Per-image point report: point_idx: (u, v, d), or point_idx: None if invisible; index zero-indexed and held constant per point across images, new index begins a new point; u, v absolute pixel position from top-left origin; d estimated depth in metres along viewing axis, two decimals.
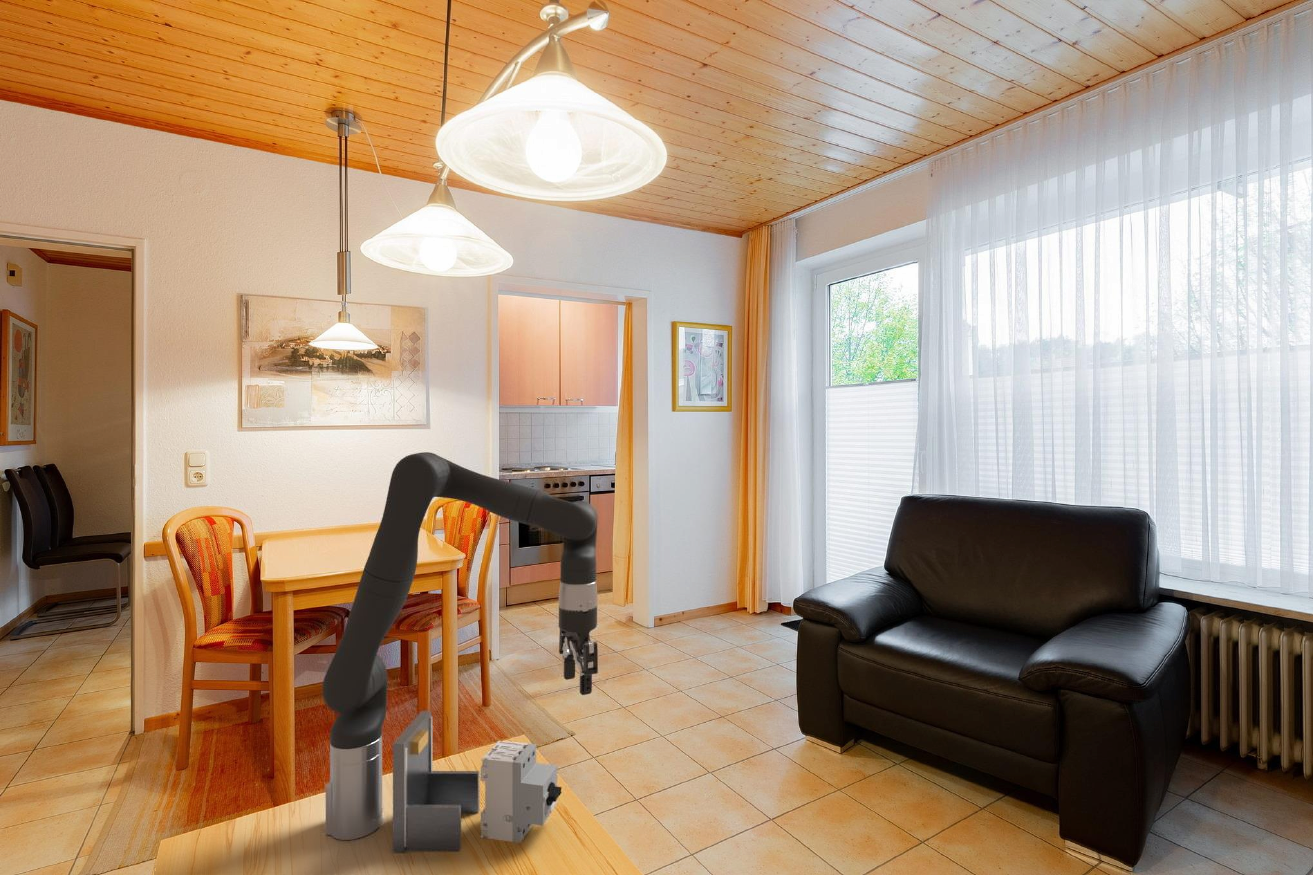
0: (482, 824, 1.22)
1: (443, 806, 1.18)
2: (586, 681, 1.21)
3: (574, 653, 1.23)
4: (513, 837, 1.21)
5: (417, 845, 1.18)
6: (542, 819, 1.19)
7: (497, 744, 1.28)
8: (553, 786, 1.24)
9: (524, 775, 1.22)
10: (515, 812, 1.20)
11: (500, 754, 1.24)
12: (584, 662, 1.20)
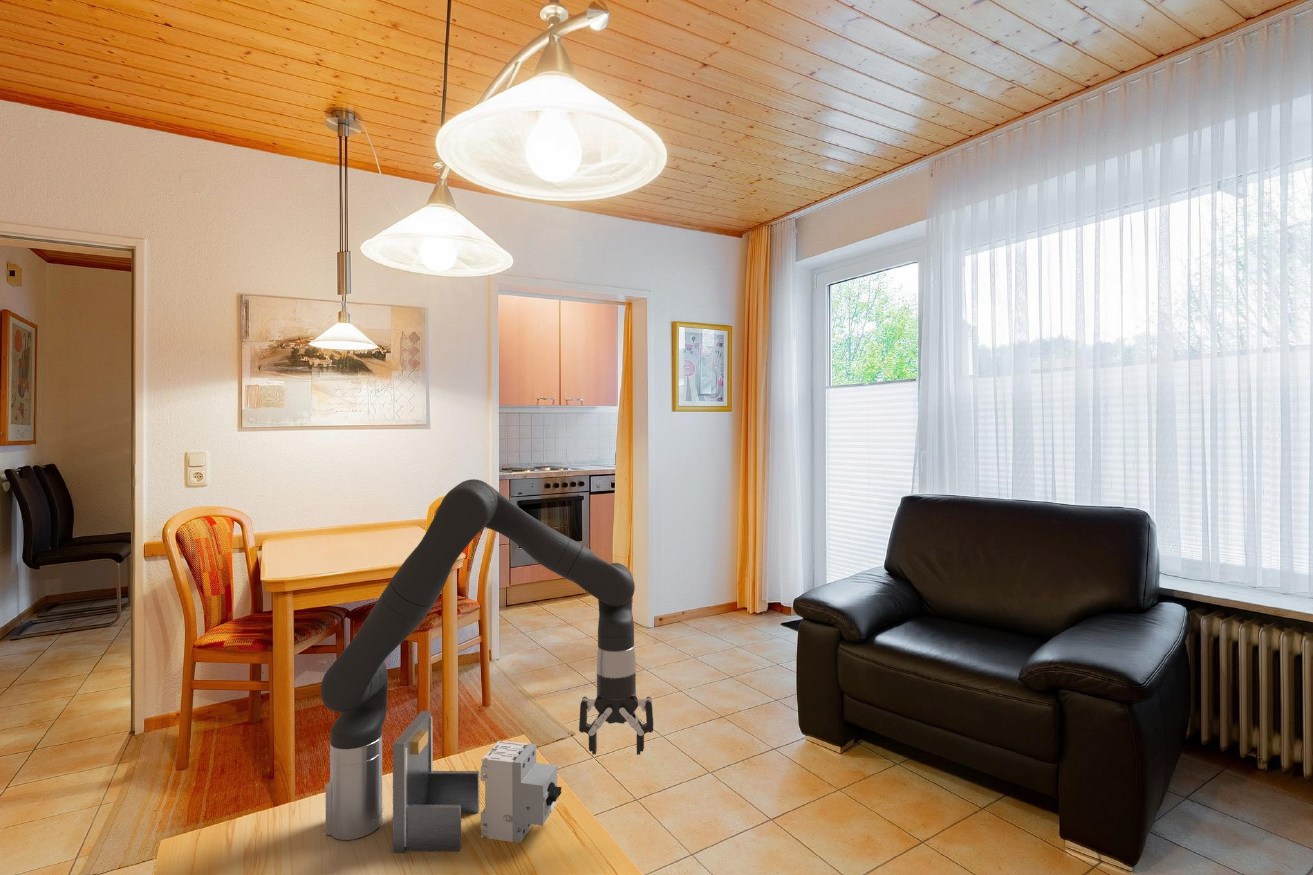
0: (482, 824, 1.22)
1: (443, 806, 1.18)
2: None
3: (629, 717, 1.22)
4: (513, 837, 1.21)
5: (417, 845, 1.18)
6: (542, 819, 1.19)
7: (497, 744, 1.28)
8: (553, 786, 1.24)
9: (524, 775, 1.22)
10: (515, 812, 1.20)
11: (500, 754, 1.24)
12: (649, 719, 1.23)
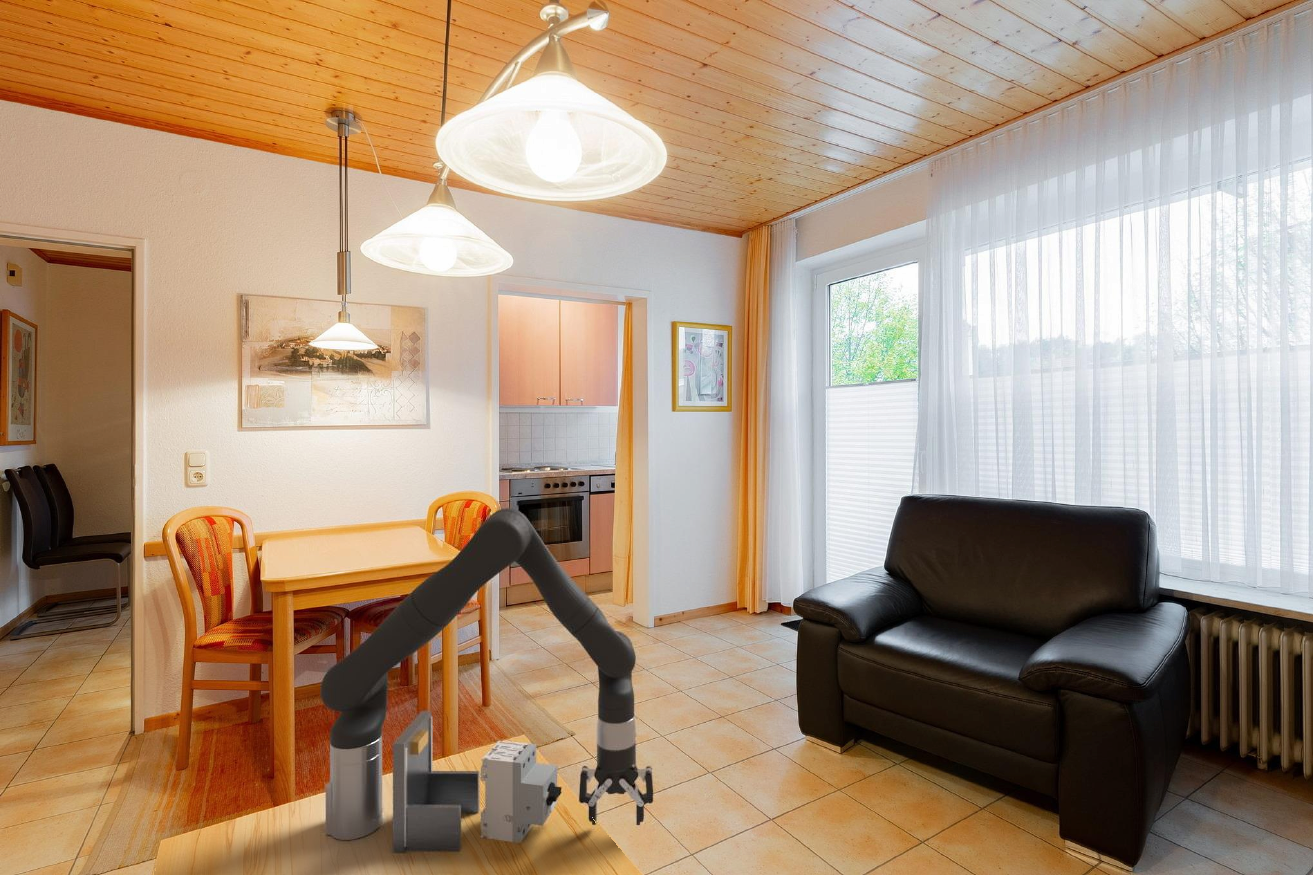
0: (482, 824, 1.22)
1: (443, 806, 1.18)
2: None
3: (629, 789, 1.22)
4: (513, 837, 1.21)
5: (417, 845, 1.18)
6: (542, 819, 1.19)
7: (497, 744, 1.28)
8: (553, 786, 1.24)
9: (524, 775, 1.22)
10: (515, 812, 1.20)
11: (500, 754, 1.24)
12: (649, 790, 1.23)
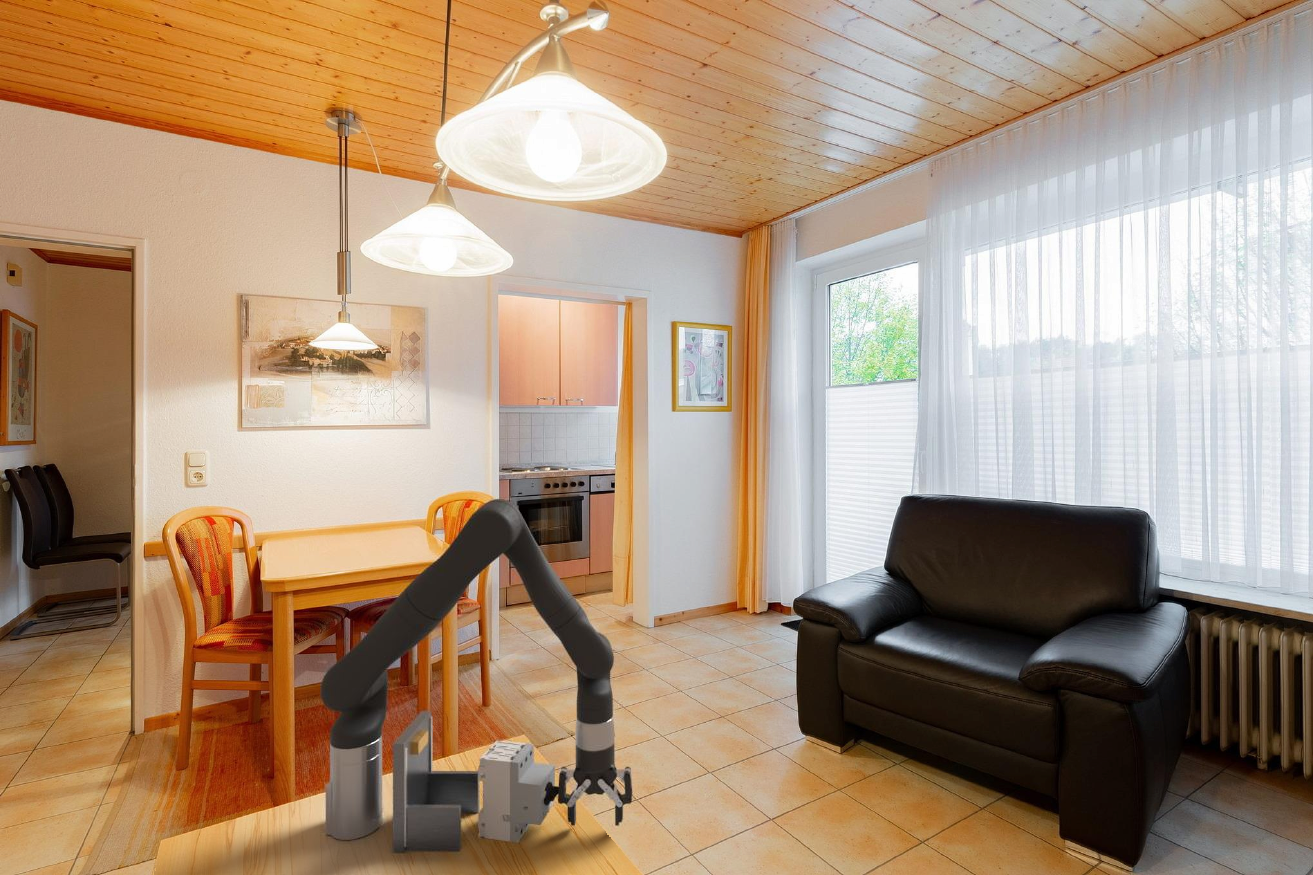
0: (480, 824, 1.22)
1: (443, 806, 1.18)
2: None
3: (607, 789, 1.22)
4: (511, 836, 1.21)
5: (417, 845, 1.18)
6: (540, 819, 1.20)
7: (495, 744, 1.28)
8: (551, 786, 1.24)
9: (522, 775, 1.22)
10: (513, 812, 1.21)
11: (498, 754, 1.24)
12: (628, 790, 1.23)
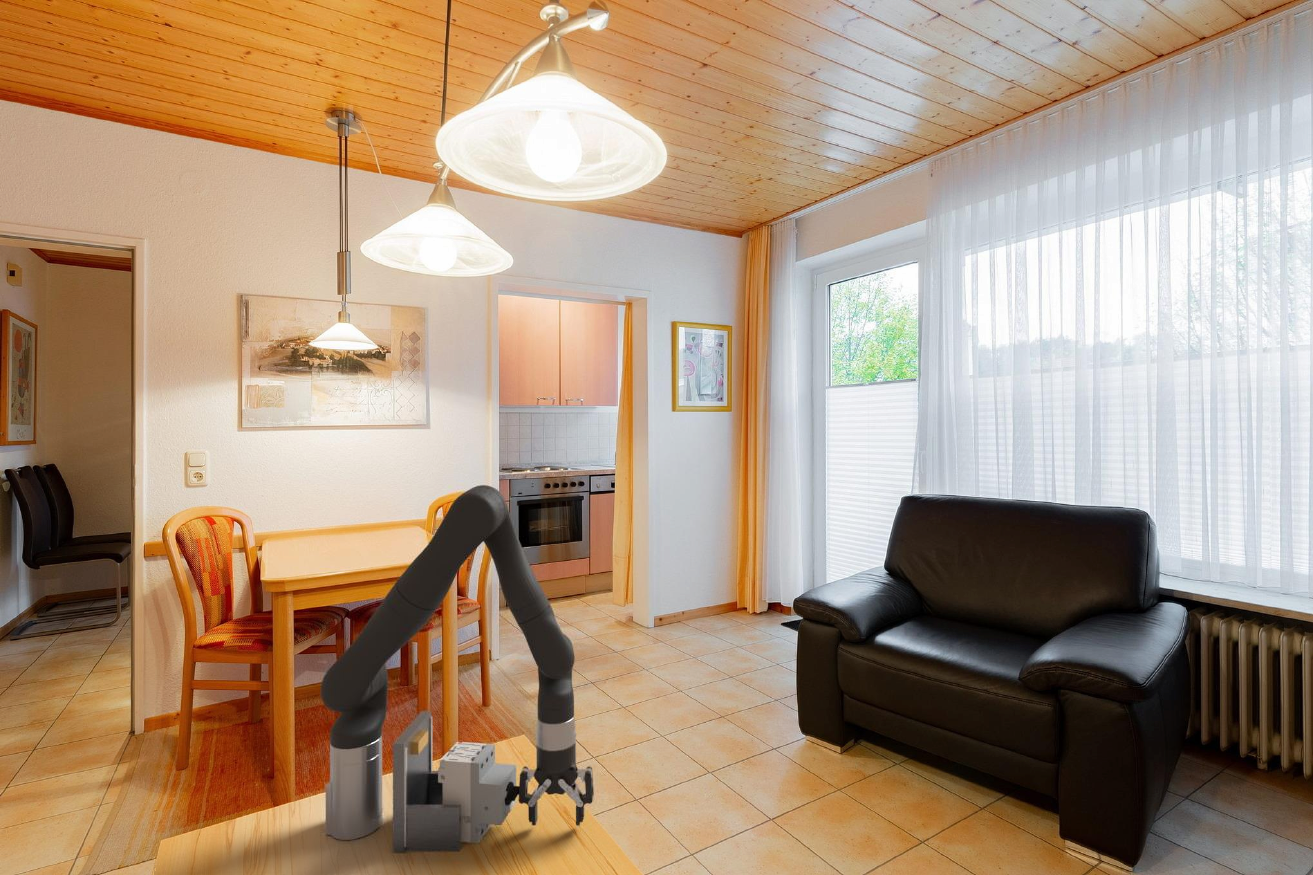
0: None
1: (443, 806, 1.18)
2: (583, 809, 1.24)
3: (568, 789, 1.22)
4: (471, 838, 1.20)
5: (417, 845, 1.18)
6: (500, 819, 1.19)
7: (455, 745, 1.27)
8: (512, 786, 1.24)
9: (482, 775, 1.22)
10: (473, 813, 1.20)
11: (458, 755, 1.23)
12: (589, 790, 1.23)
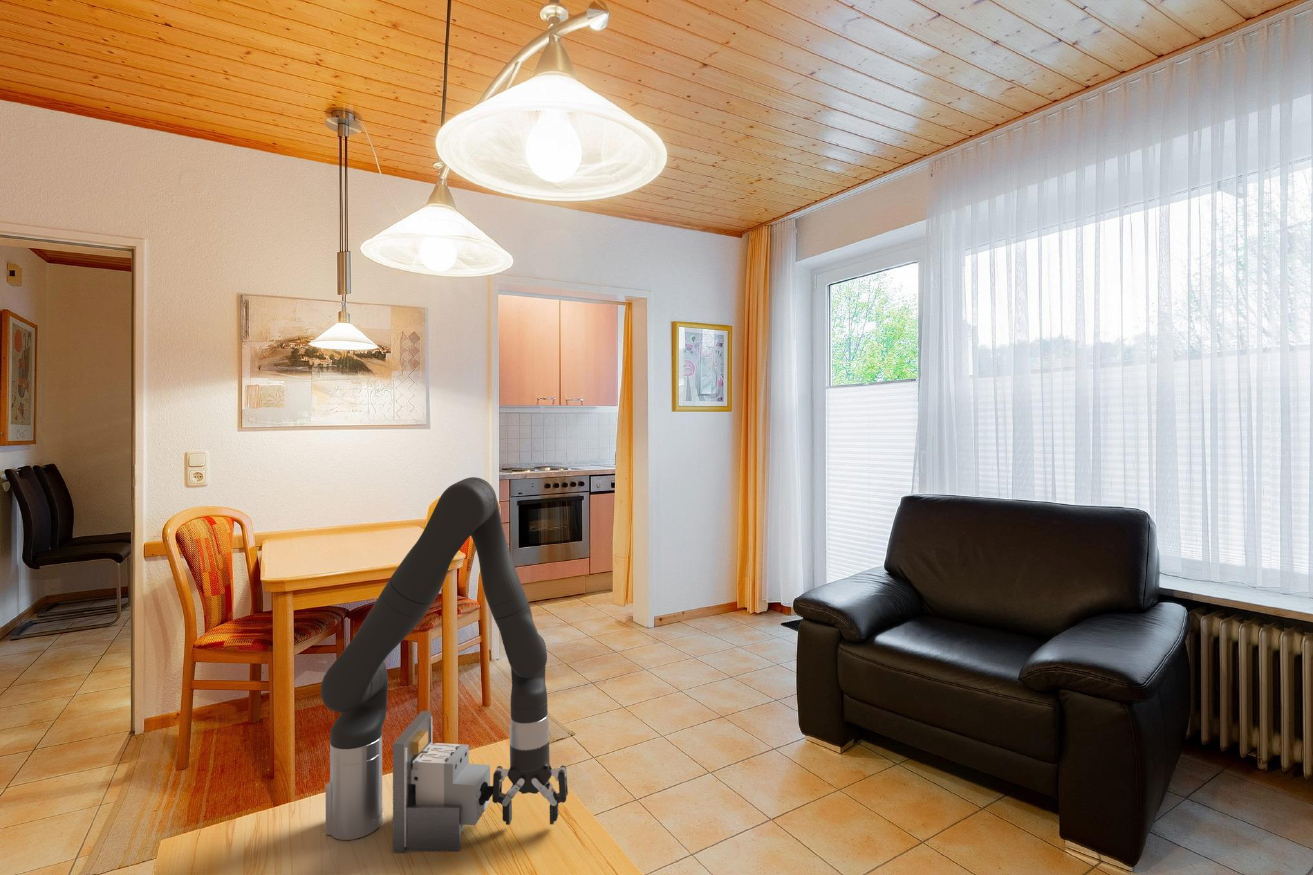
0: None
1: (443, 806, 1.18)
2: (557, 808, 1.24)
3: (541, 788, 1.22)
4: None
5: (417, 845, 1.18)
6: (474, 819, 1.19)
7: (428, 746, 1.27)
8: (486, 785, 1.24)
9: (456, 776, 1.22)
10: None
11: (431, 756, 1.23)
12: (562, 789, 1.23)
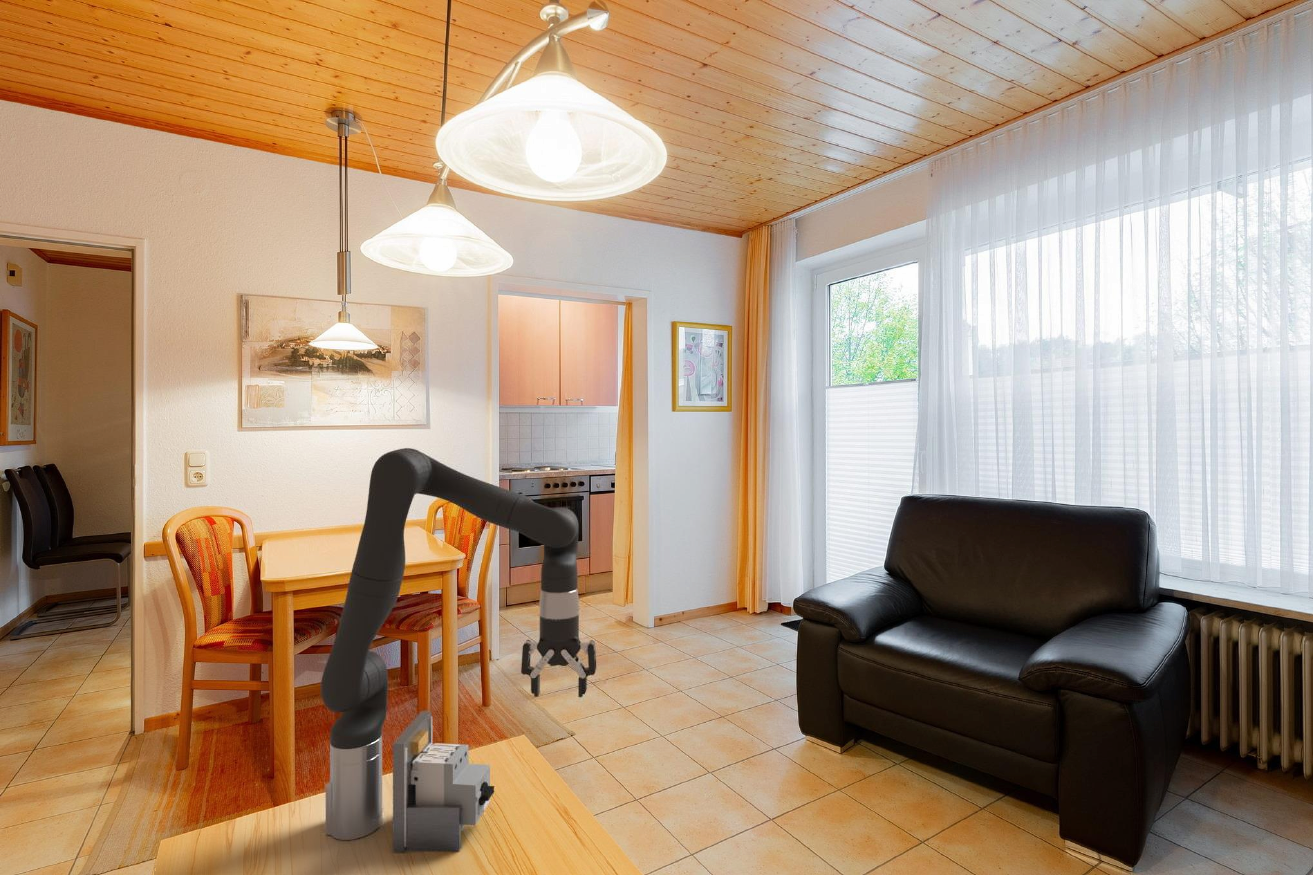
0: None
1: (443, 806, 1.18)
2: (585, 682, 1.24)
3: (571, 660, 1.22)
4: None
5: (417, 845, 1.18)
6: (475, 819, 1.20)
7: (428, 747, 1.27)
8: (486, 785, 1.24)
9: (456, 776, 1.22)
10: None
11: (431, 756, 1.23)
12: (591, 662, 1.23)
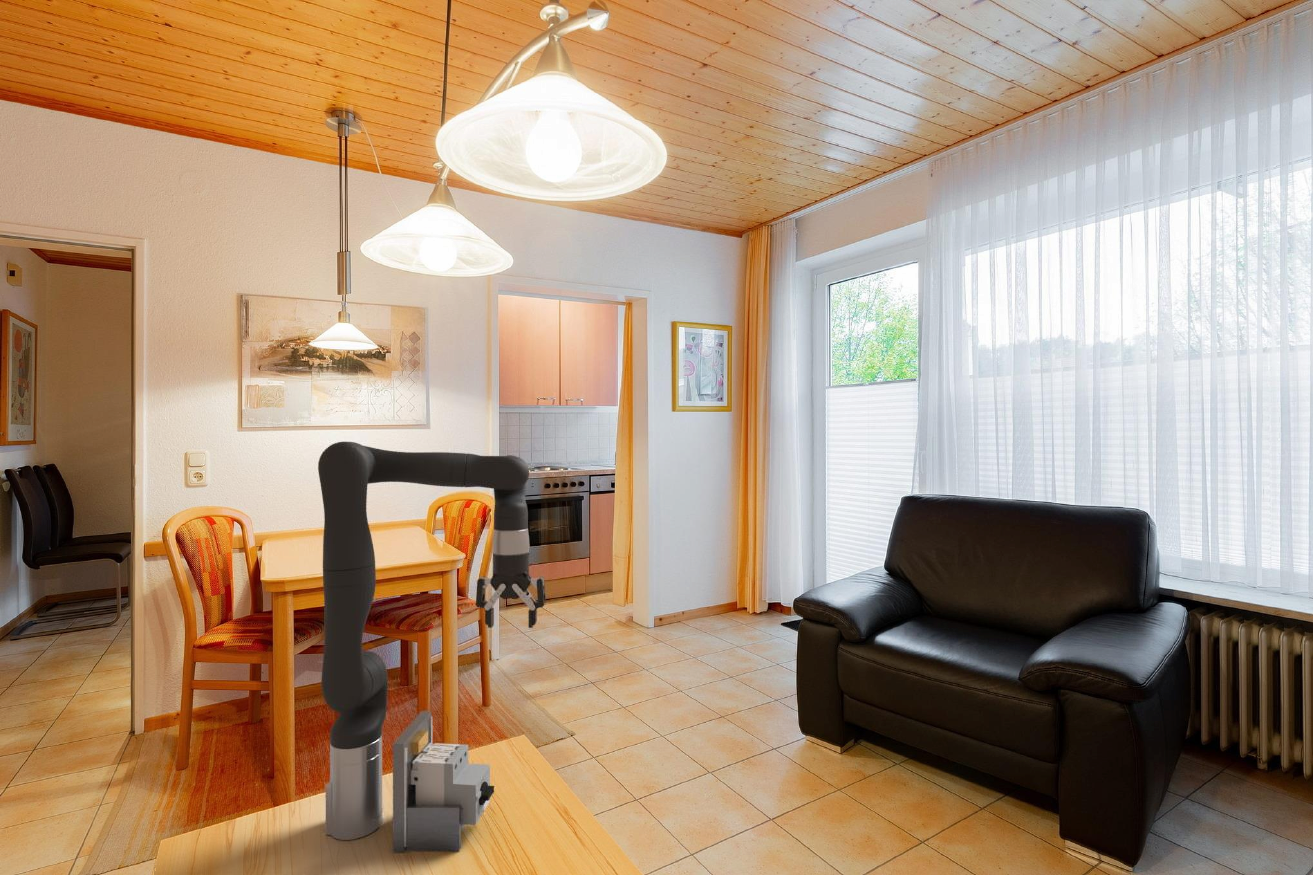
0: None
1: (443, 806, 1.18)
2: None
3: (521, 593, 1.33)
4: None
5: (417, 845, 1.18)
6: (475, 819, 1.20)
7: (428, 747, 1.27)
8: (486, 785, 1.24)
9: (456, 776, 1.22)
10: None
11: (431, 756, 1.23)
12: (540, 595, 1.34)
